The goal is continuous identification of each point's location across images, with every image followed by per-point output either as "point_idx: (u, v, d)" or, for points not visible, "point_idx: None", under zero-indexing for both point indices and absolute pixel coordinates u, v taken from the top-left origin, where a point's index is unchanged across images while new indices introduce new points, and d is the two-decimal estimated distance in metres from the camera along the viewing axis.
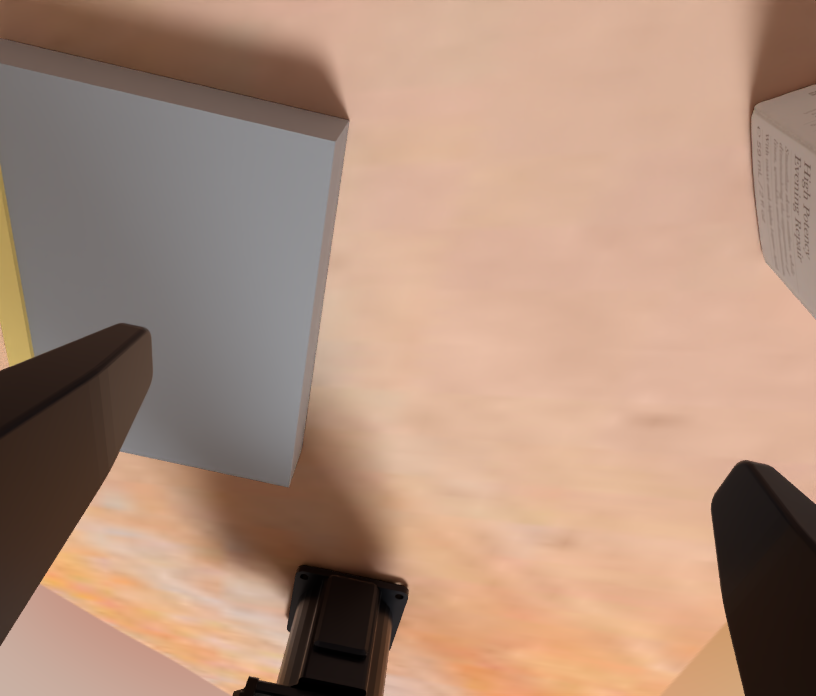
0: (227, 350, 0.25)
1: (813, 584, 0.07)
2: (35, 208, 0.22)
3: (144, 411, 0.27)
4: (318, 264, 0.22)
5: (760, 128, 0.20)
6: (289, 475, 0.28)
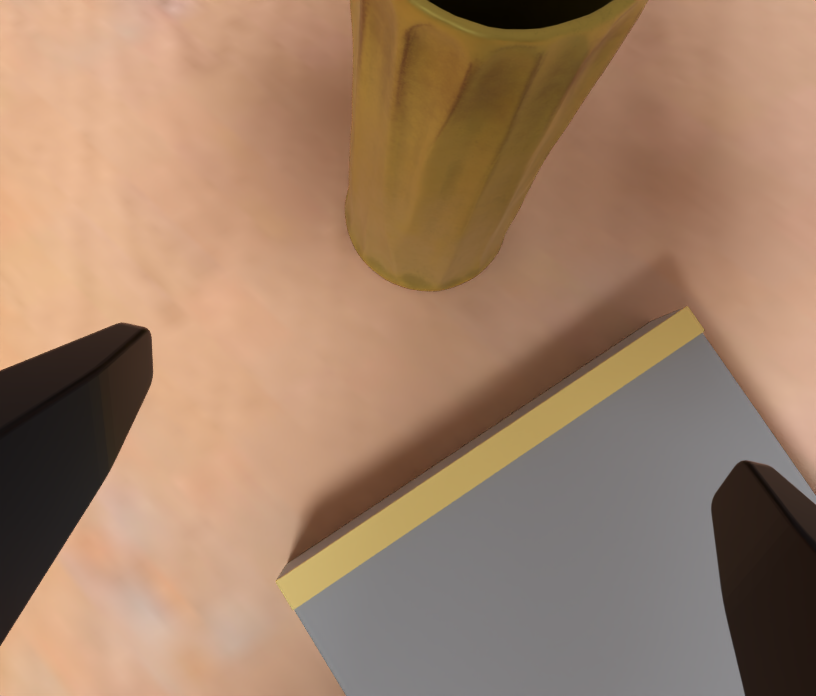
0: None
1: (813, 584, 0.07)
2: (608, 432, 0.21)
3: (449, 683, 0.19)
4: None
5: None
6: None
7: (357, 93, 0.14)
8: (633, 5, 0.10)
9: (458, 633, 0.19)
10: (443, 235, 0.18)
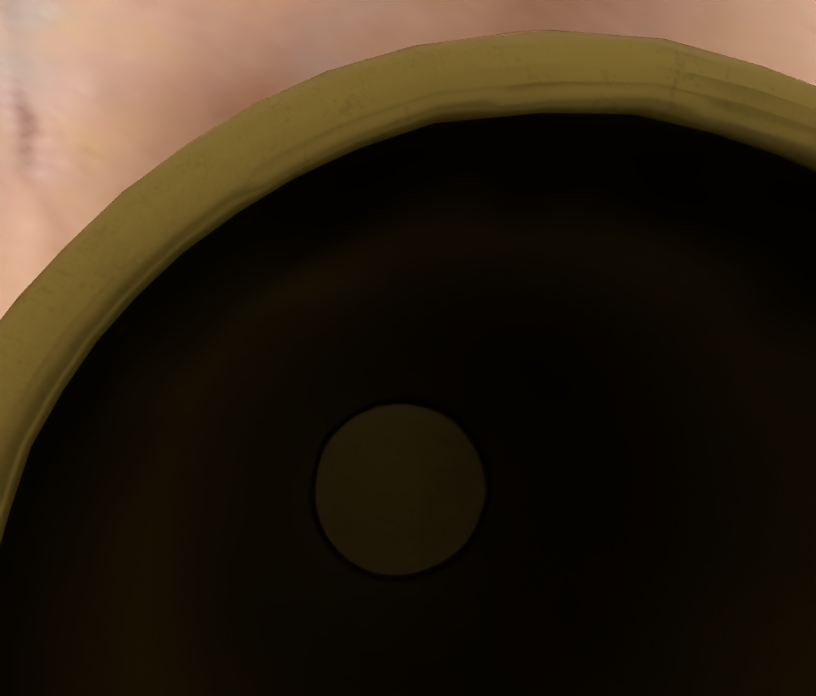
0: None
1: None
2: None
3: None
4: None
5: None
6: None
7: None
8: None
9: None
10: None
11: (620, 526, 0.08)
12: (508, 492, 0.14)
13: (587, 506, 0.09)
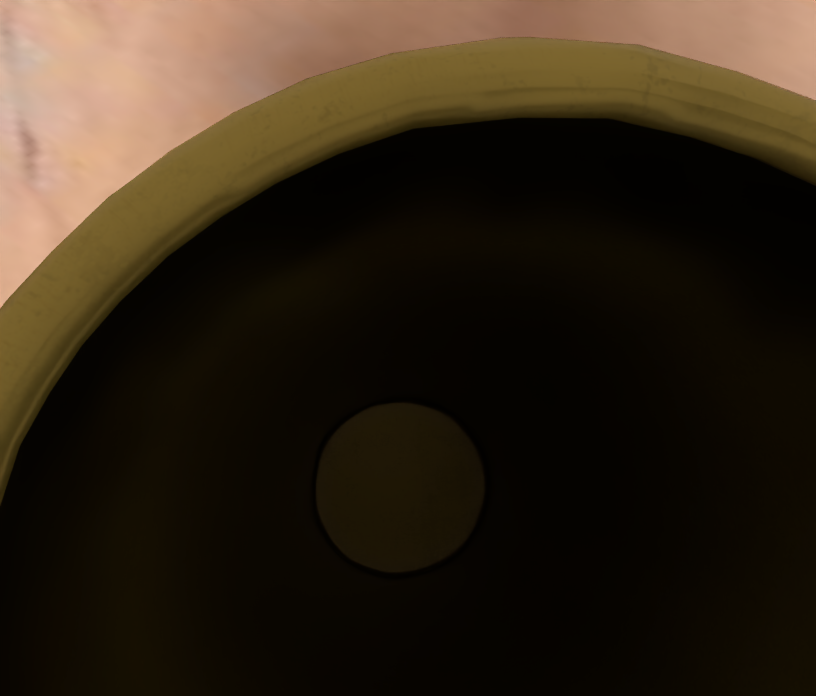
0: None
1: None
2: None
3: None
4: None
5: None
6: None
7: None
8: None
9: None
10: None
11: (614, 523, 0.08)
12: (507, 490, 0.14)
13: (583, 503, 0.09)
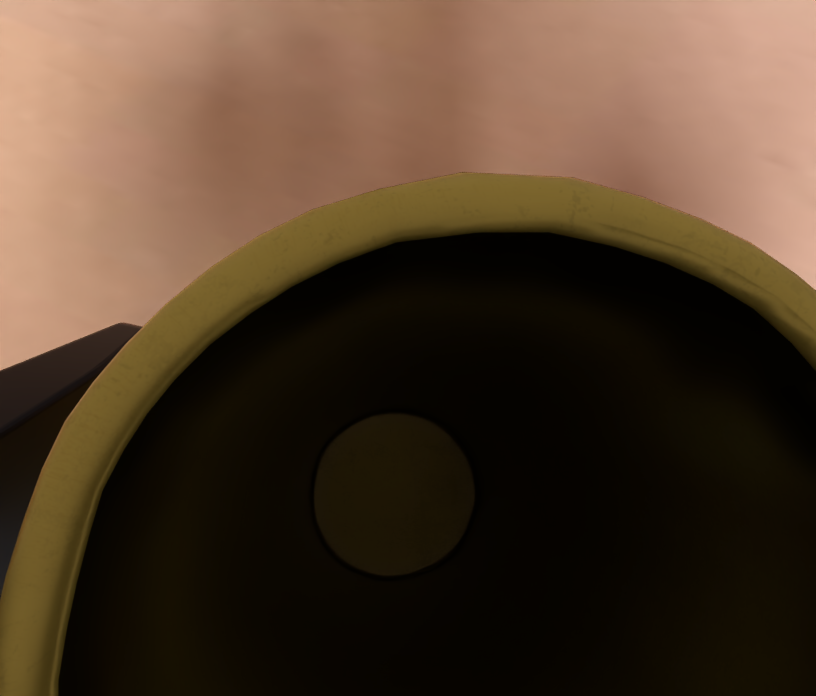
0: None
1: None
2: None
3: None
4: None
5: None
6: None
7: None
8: None
9: None
10: None
11: (586, 532, 0.09)
12: (494, 497, 0.14)
13: (560, 512, 0.10)
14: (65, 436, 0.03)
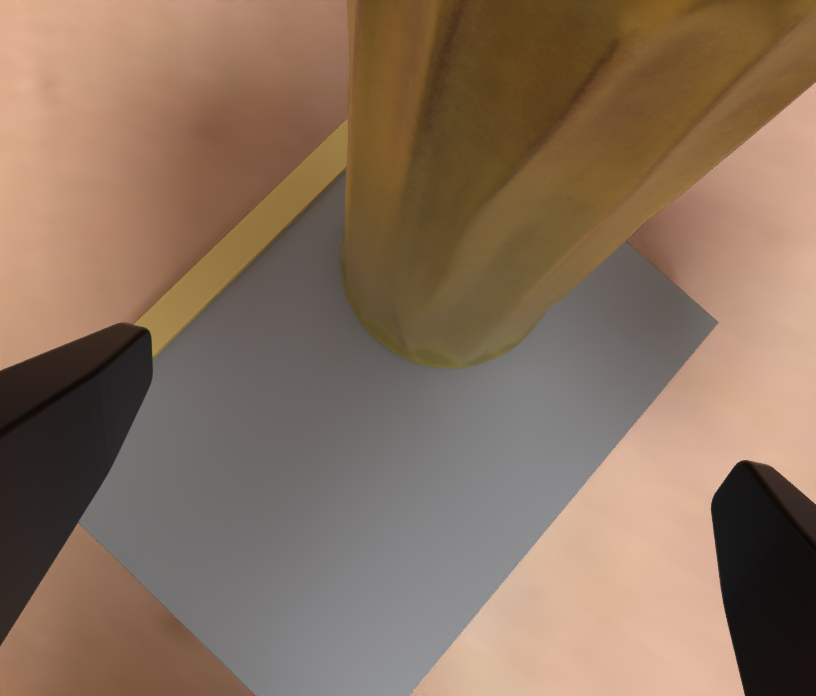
0: (434, 482, 0.17)
1: (813, 584, 0.07)
2: None
3: (232, 514, 0.17)
4: (624, 433, 0.18)
5: None
6: None
7: (354, 106, 0.08)
8: None
9: (231, 458, 0.17)
10: (480, 314, 0.12)
11: None
12: None
13: None
14: None
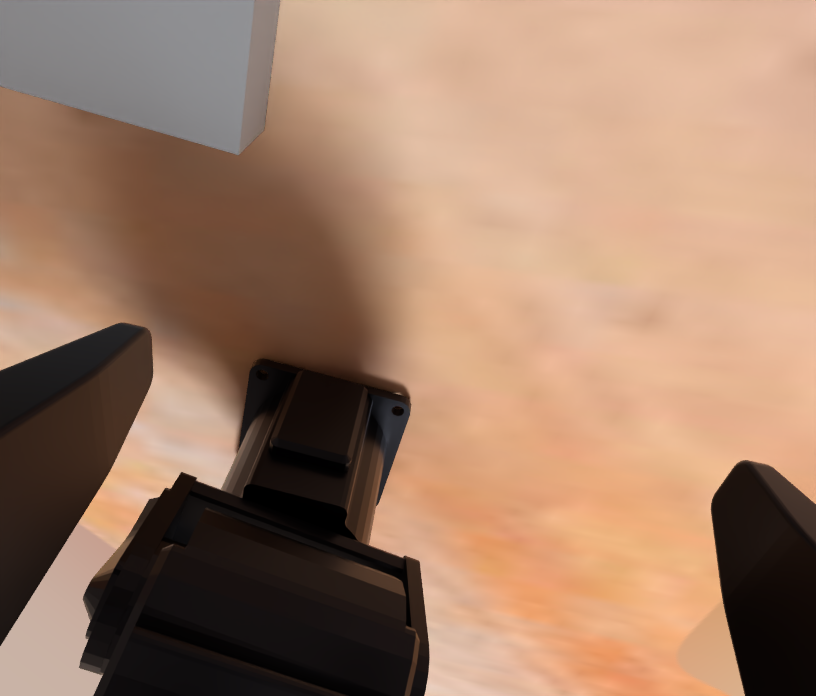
0: None
1: (813, 584, 0.07)
2: None
3: None
4: None
5: None
6: (239, 127, 0.17)
7: None
8: None
9: None
10: None
11: None
12: None
13: None
14: None
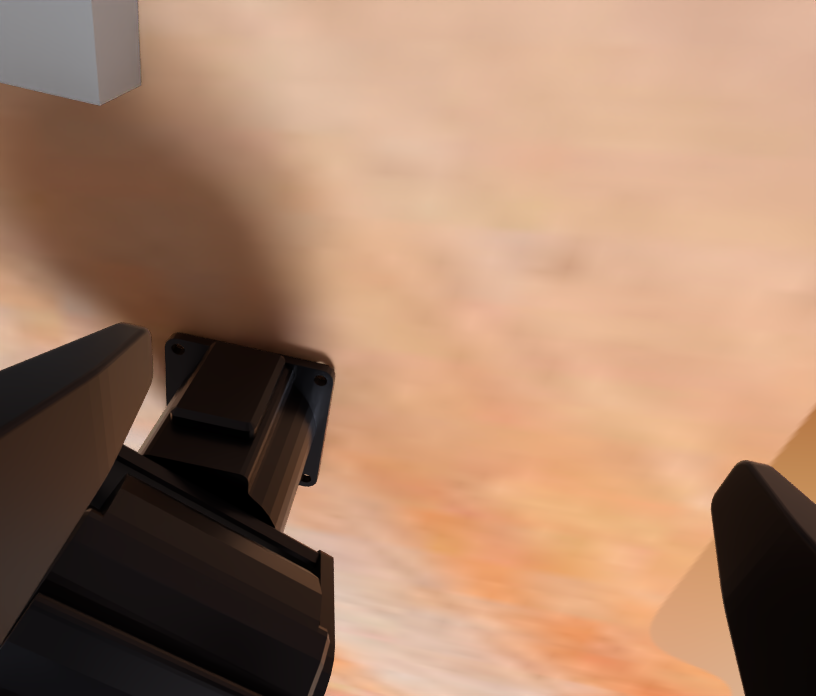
0: None
1: (813, 584, 0.07)
2: None
3: None
4: None
5: None
6: (95, 74, 0.16)
7: None
8: None
9: None
10: None
11: None
12: None
13: None
14: None
